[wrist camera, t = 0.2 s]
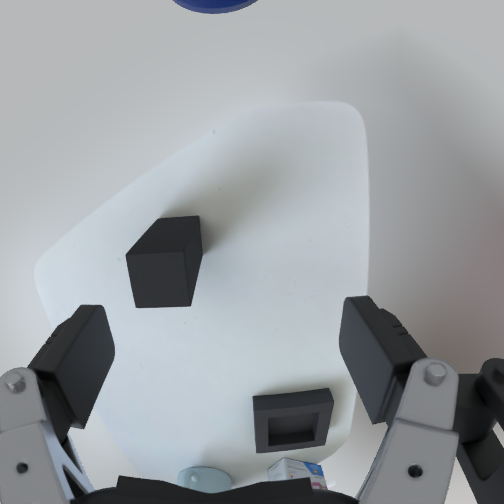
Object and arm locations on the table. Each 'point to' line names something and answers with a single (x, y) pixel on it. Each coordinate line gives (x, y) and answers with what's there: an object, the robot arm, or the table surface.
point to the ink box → (297, 472)
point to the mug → (204, 479)
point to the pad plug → (166, 263)
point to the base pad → (292, 420)
